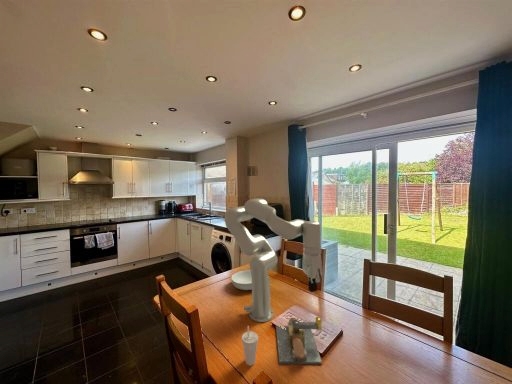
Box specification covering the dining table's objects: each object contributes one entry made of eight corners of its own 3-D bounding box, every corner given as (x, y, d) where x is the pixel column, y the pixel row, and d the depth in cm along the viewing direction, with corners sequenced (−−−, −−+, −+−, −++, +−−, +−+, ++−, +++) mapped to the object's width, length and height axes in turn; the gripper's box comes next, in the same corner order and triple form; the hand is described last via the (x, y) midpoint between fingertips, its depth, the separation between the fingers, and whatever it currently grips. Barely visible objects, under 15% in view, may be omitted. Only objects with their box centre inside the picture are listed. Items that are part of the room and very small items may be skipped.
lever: (293, 331, 87) (292, 321, 87) (292, 327, 90) (291, 316, 90) (322, 332, 87) (322, 321, 87) (320, 327, 90) (320, 316, 90)
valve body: (279, 363, 79) (279, 348, 79) (276, 327, 99) (275, 315, 99) (321, 364, 78) (321, 348, 78) (309, 327, 98) (309, 315, 98)
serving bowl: (235, 278, 152) (235, 269, 152) (264, 280, 149) (263, 270, 149) (227, 293, 132) (227, 282, 132) (260, 295, 129) (260, 284, 129)
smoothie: (242, 355, 83) (241, 321, 83) (258, 354, 84) (257, 320, 83) (242, 369, 77) (241, 332, 77) (259, 367, 78) (258, 331, 77)
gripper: (297, 245, 98) (297, 284, 99) (312, 255, 84) (313, 300, 84) (311, 244, 100) (312, 282, 101) (329, 254, 85) (329, 298, 86)
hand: (312, 290), depth 92 cm, fingers closed
